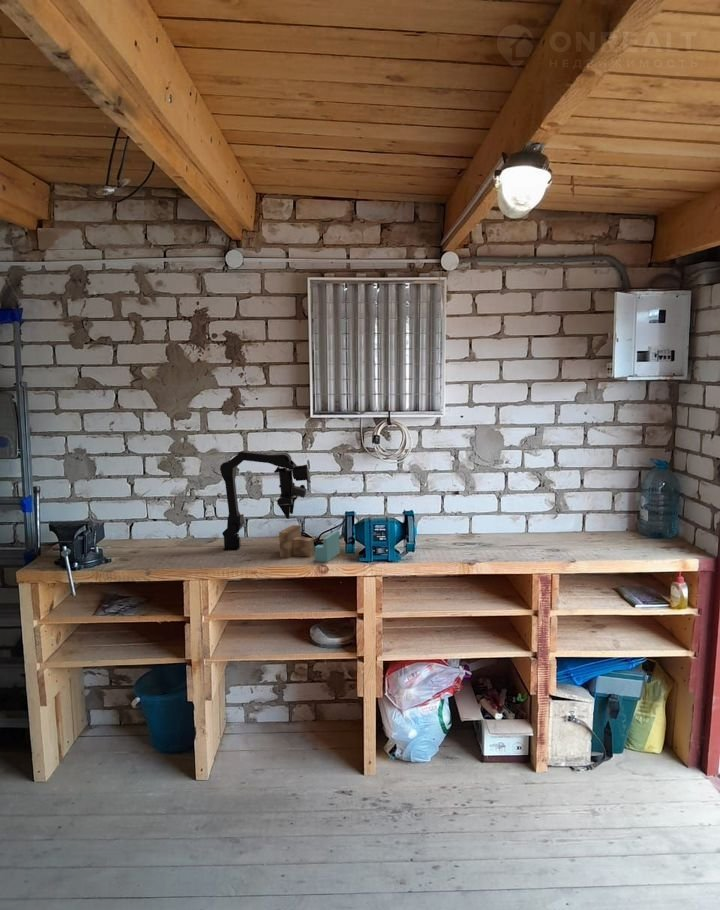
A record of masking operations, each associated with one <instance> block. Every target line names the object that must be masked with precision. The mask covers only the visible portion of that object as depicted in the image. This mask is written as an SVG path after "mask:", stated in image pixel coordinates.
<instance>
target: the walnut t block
mask: <svg viewBox="0 0 720 910" xmlns="http://www.w3.org/2000/svg"><path fill="white" fill-rule="evenodd" d="M278 534H279V535H278V537H279V539H278V540H279V542H278V543H279V558H284V559H289V558H291V557H293V556H298V557H308V558H309V557H310V558H311V557H312V556H314V555H315V543H314V538H311V537H302V526H301V525H298V524H297V525H296V524H292V525H290V526H288V527H287V528H285V529H282V530H281V531H279V532H278Z"/></svg>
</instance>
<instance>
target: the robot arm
mask: <svg viewBox="0 0 720 910" xmlns="http://www.w3.org/2000/svg"><path fill="white" fill-rule="evenodd" d="M244 461H246V462H256V463H263V464H264V463H265V464H266V463H267V464H271V465H273V466H275V467H276V469H275V470H274V471H273V472H274V474H275V473H276V474H277V473H278V478H279V485H278V487H279V488H280V494H279V498H278V499H277V500H276V504H277V506H278V508H280V510H281V511H282V513H283V514H284V516H285V518H286V520H287V519H290V515H293V513H294V508H295V501H296V500H297V499H298V498H299V497H300V498H302V499H303V498H305V497H306V494H307V490H308V489H307V488H306V485H305V484H301V485H299V486H298V485H296V484H295V482H294V480H295V481H296V482H298V481H301V482H302V481H309V480H310V476H311V475H310V470H309V467H308V464H302V465H297V464H296V462H294V460H292V456H291V455H290V454H289V453H288V452H277V453H263V452H253V451H246V450H241V451H239V452H238V453H237V454H236V455H234V457H233V458H231V459H229V460H227V461H225V462H222V463H221V465H220V466H219V470H220V473H221V474H220V475H221V477H222V479H223V481H224V484H225V491H226V492H225V493H226V500H227V507H228V515H227V523H226V528H225V530H224V531H222V533H221V534H222V536H223V546H224V548H223V550H224V551H238V550H239V549H240V548H241V544H242V543H241V540H242V539H241V537H240V534H239V533H240V531H241V529H242V528H243V527H244V524H245V519H244V517H245V515H244V514H243V513H242V514H241V512H240V511H239V504H238V494H237V487H236V477H237V467H238V466H239V465H240V464H241V463H243V462H244ZM293 479H294V480H293Z"/></svg>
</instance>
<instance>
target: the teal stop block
mask: <svg viewBox="0 0 720 910" xmlns="http://www.w3.org/2000/svg"><path fill="white" fill-rule="evenodd" d="M322 543H323V544H317V545H316V546H314V562H319V563H320V562H322V563H328V562H329V561H331V560H332V559H334V558H335V557H336V556H337V555H339V554H340V552H341V551H340V530H339V529H337V530H334V531H333V532H331V533H329V534H328V535H326V536H325V537H323V540H322Z"/></svg>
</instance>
